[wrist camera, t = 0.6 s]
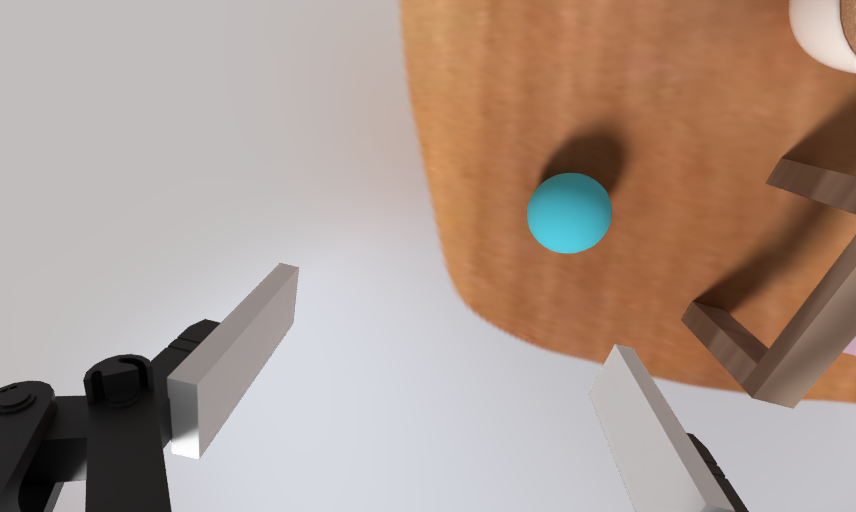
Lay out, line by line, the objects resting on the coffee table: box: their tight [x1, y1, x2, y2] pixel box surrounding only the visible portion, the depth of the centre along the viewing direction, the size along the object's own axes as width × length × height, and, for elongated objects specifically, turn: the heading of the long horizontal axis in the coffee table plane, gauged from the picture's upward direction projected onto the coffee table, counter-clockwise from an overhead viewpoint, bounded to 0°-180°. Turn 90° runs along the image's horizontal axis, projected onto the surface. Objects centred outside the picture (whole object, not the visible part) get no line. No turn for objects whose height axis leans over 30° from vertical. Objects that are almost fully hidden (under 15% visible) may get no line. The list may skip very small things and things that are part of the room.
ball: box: [527, 173, 612, 253], centre depth 30 cm, size 6×6×6 cm
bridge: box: [681, 158, 856, 408], centre depth 28 cm, size 3×15×10 cm, turn 166°
